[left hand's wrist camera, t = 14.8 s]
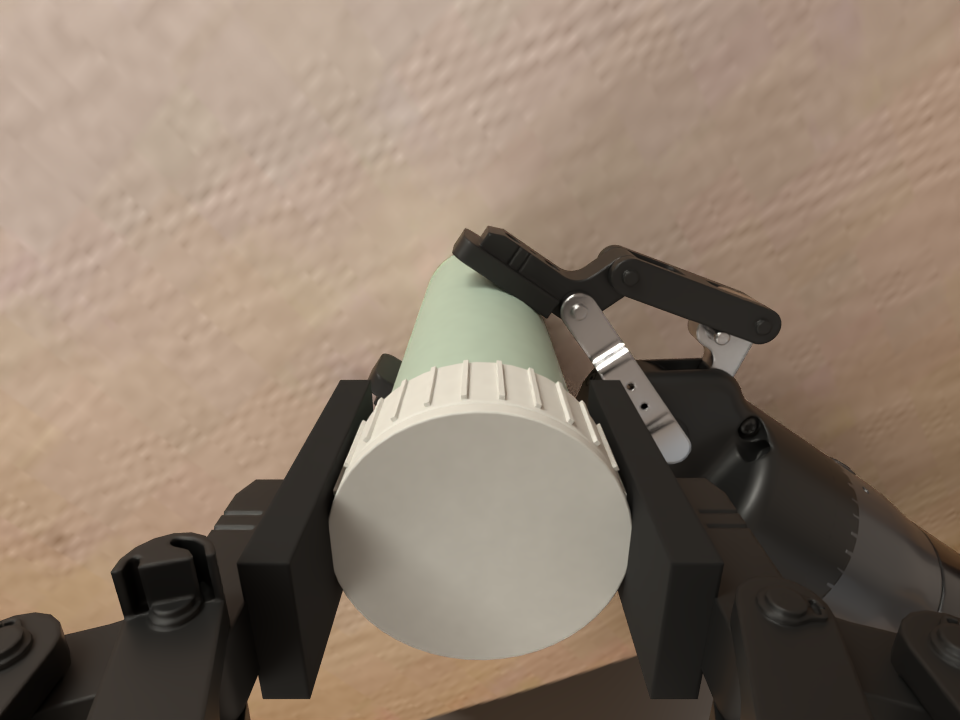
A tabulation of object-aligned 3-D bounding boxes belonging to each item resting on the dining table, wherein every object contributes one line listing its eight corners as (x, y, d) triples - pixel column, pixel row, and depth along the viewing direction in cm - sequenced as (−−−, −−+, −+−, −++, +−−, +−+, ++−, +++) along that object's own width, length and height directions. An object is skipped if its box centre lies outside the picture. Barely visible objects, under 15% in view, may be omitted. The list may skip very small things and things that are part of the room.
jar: (445, 232, 25) (394, 377, 10) (550, 269, 25) (650, 459, 10) (412, 333, 26) (326, 586, 12) (511, 365, 27) (549, 646, 12)
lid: (381, 594, 14) (363, 679, 12) (319, 379, 12) (283, 433, 10) (619, 564, 13) (645, 645, 11) (599, 337, 11) (627, 383, 9)
